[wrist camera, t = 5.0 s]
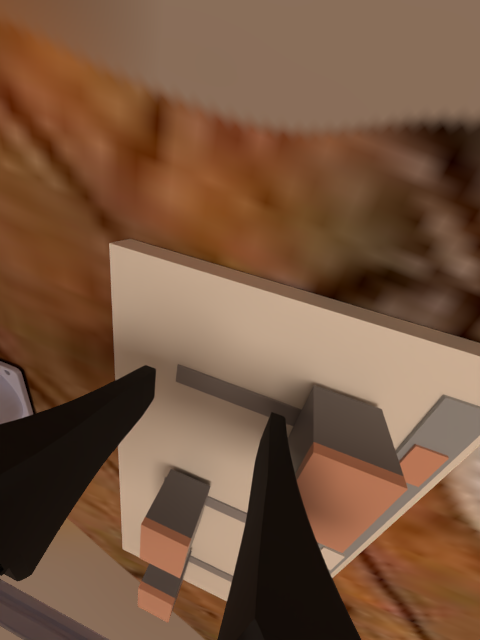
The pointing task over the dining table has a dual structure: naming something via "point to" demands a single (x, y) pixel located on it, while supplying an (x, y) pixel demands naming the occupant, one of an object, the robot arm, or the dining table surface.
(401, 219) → the dining table surface
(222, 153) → the dining table surface
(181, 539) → the switch middle
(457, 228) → the dining table surface
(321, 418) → the switch
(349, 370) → the switch unit
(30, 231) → the dining table surface
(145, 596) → the switch
